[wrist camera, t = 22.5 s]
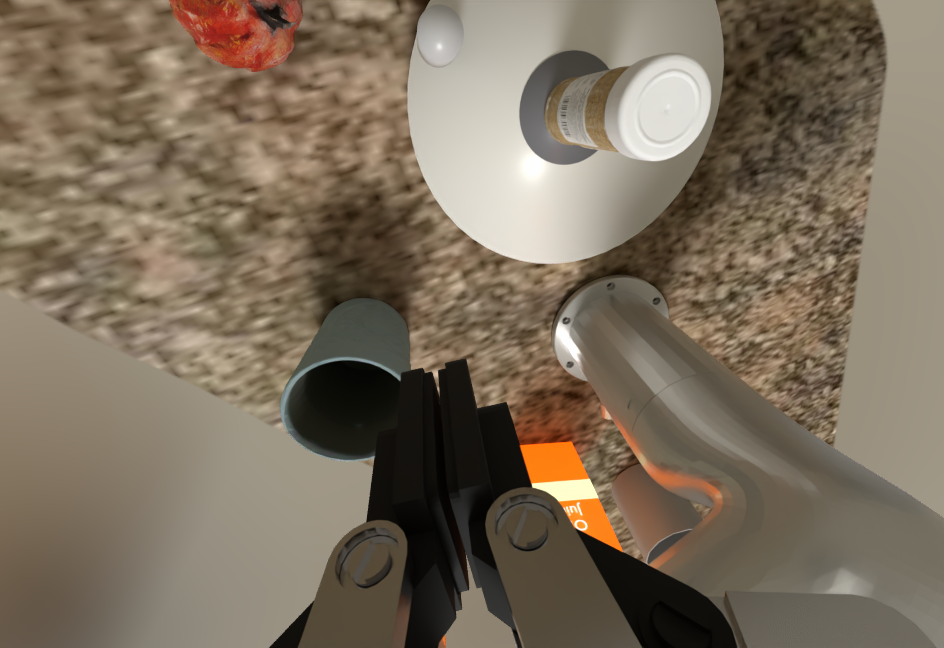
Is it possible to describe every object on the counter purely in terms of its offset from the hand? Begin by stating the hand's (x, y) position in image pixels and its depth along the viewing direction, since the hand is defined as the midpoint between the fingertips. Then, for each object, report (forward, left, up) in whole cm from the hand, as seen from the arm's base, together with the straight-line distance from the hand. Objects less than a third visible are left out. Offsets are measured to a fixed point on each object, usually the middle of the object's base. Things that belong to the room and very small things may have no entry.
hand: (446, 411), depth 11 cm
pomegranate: (+15, +9, -29) cm, 34 cm away
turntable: (+5, -12, -29) cm, 32 cm away
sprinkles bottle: (+5, -12, -25) cm, 29 cm away
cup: (-43, -20, -29) cm, 56 cm away
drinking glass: (-12, +9, -29) cm, 33 cm away
